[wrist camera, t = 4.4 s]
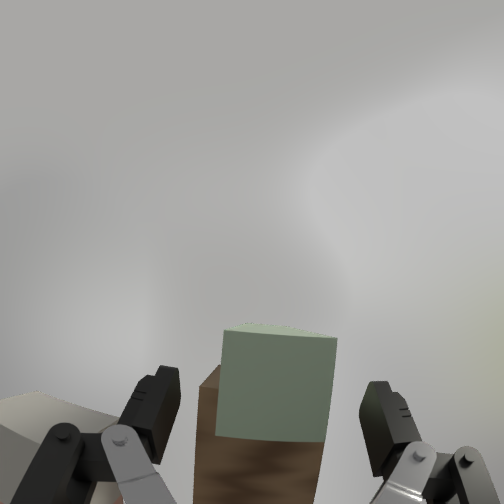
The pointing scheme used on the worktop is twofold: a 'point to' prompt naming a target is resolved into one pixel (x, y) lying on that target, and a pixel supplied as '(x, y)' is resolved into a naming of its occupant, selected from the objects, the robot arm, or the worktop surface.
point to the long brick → (275, 383)
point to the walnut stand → (249, 462)
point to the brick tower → (33, 433)
